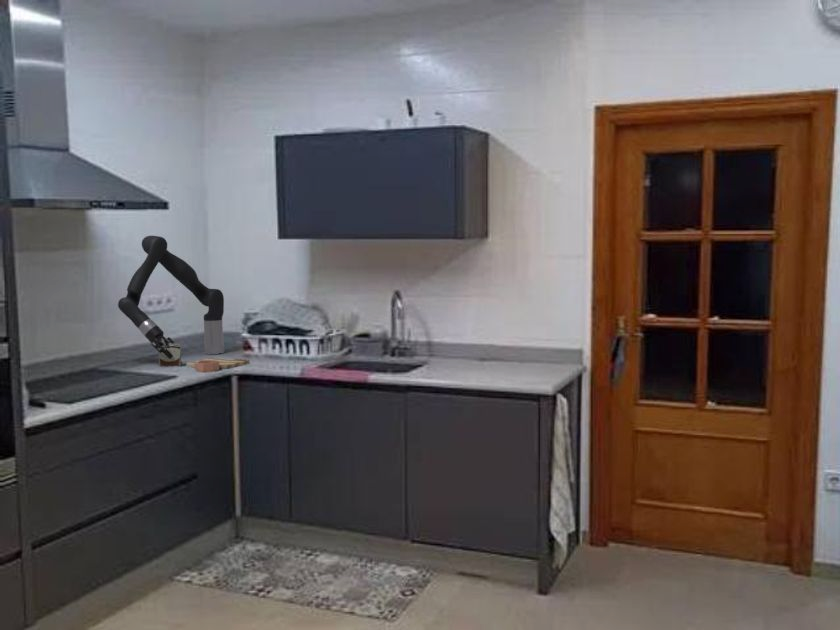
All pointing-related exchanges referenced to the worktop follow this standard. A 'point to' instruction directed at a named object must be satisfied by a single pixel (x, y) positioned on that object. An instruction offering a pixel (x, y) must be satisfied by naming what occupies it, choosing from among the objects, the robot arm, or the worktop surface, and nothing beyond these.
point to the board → (224, 362)
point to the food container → (175, 359)
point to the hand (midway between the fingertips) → (175, 356)
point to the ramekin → (207, 366)
